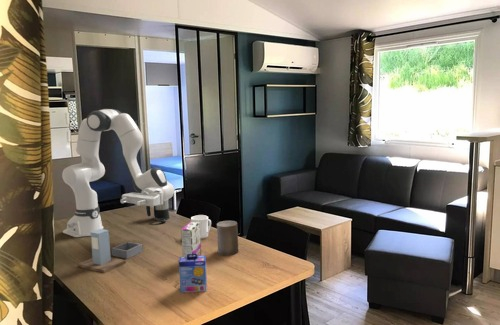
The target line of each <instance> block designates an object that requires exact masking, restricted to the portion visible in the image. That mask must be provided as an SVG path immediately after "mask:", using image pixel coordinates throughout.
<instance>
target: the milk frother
mask: <svg viewBox="0 0 500 325" xmlns="http://www.w3.org/2000/svg"><path fill="white" fill-rule="evenodd" d="M145 208H146V216H148V217H151V215H152V214H151V206H146V205H145ZM153 216H154V217H152V220H155V221H157V222H160V223H162V224H164V223H166V222H167V220H168V219H170V211H169V199H168V200H166V201H163V204H162V205H156V206H153Z"/></svg>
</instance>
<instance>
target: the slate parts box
mask: <svg viewBox="0 0 500 325" xmlns="http://www.w3.org/2000/svg"><path fill="white" fill-rule="evenodd" d="M109 232H110V231H109V229H105V228H103V229H99V230H96V231H93V232H90V233H91V236H90V242H91V256H92V257H91V258H93V263H94V264H98V265H103V264H105V263H107V262H109V261H111V257H112V253H111V245H110V244H111V243H110V233H109Z"/></svg>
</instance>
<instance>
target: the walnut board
mask: <svg viewBox="0 0 500 325" xmlns="http://www.w3.org/2000/svg"><path fill="white" fill-rule="evenodd" d="M126 263H127V262H126V260H125V259H123V258H122V259H120V258H118V257H117V258H116V257H112V256H111V261H109V262H107V263H105V264H103V265H98V264H94V263H93V257H91V258H88V259H87V260H85V261H82V262H79V263H78V268H83V269H88V270H91V271H95V272H99V273H102V274H105V273H107V272H109V271H111V270H114V269H115V268H116V269H117V268H118V267H120V266H123V265H124V264H126Z"/></svg>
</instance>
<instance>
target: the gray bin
mask: <svg viewBox="0 0 500 325" xmlns="http://www.w3.org/2000/svg"><path fill="white" fill-rule="evenodd" d="M142 252H144V250H143V244H142V243H137V242H130V241H126V242H123V243H121V244H119V245H118V244H117V245H116V246H114V247H111V257H112V256H114V257H117V258H122V259H127V260H128V259H130V258H131V257H134V256H136V255H138V254H140V253H142Z"/></svg>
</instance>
